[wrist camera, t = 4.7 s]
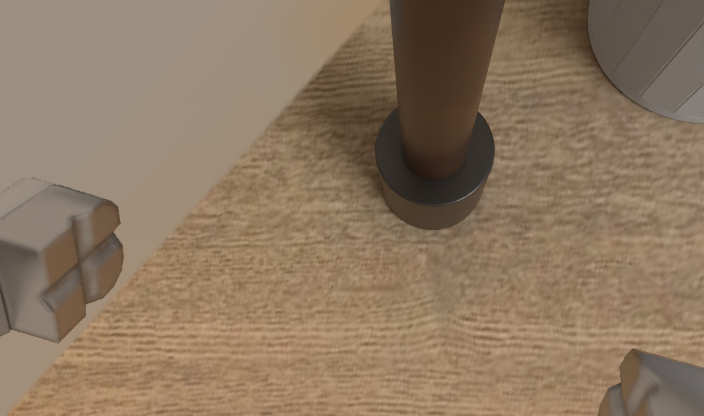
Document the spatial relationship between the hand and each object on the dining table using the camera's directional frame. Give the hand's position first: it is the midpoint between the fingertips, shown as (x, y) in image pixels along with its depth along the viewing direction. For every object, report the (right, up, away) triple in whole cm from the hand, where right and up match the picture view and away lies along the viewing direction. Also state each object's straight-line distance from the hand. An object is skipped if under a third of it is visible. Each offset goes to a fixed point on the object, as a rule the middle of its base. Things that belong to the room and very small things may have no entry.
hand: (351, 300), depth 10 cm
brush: (+3, +3, +15) cm, 15 cm away
